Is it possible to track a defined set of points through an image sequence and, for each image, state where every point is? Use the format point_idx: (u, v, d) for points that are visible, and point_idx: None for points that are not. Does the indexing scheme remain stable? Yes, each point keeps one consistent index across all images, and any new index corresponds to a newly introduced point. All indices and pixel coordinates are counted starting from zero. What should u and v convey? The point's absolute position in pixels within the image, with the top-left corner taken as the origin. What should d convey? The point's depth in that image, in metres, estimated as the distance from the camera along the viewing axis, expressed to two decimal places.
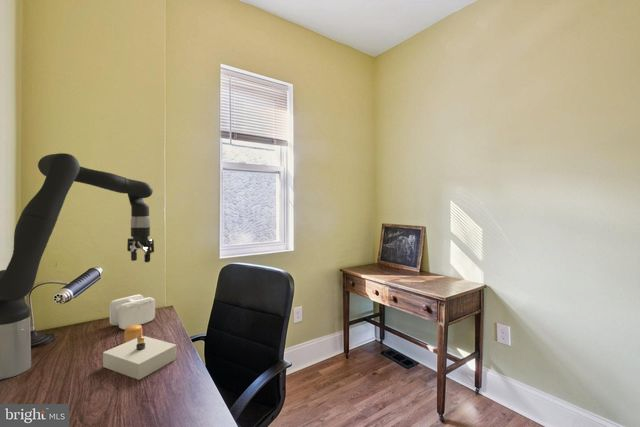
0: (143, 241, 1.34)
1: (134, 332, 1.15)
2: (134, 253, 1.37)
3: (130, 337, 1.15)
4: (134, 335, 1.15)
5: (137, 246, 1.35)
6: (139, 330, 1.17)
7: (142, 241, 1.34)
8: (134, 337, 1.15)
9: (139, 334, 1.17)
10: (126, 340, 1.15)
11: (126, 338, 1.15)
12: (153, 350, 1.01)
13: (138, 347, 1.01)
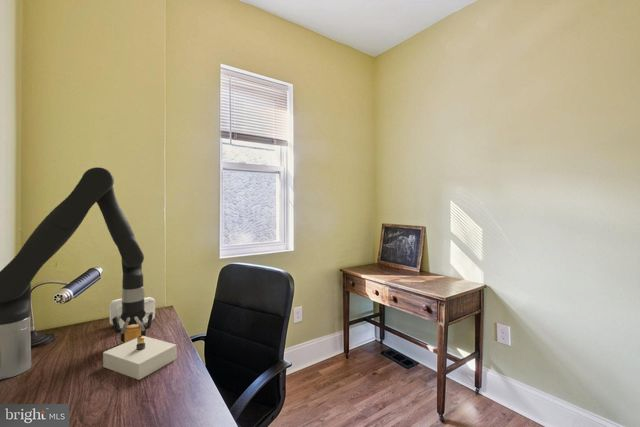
0: (142, 316, 1.18)
1: (134, 332, 1.15)
2: None
3: (130, 337, 1.15)
4: (134, 335, 1.15)
5: (131, 322, 1.16)
6: (139, 330, 1.17)
7: (140, 315, 1.17)
8: (134, 337, 1.15)
9: (139, 334, 1.17)
10: (126, 340, 1.15)
11: (126, 338, 1.15)
12: (153, 350, 1.01)
13: (138, 347, 1.01)
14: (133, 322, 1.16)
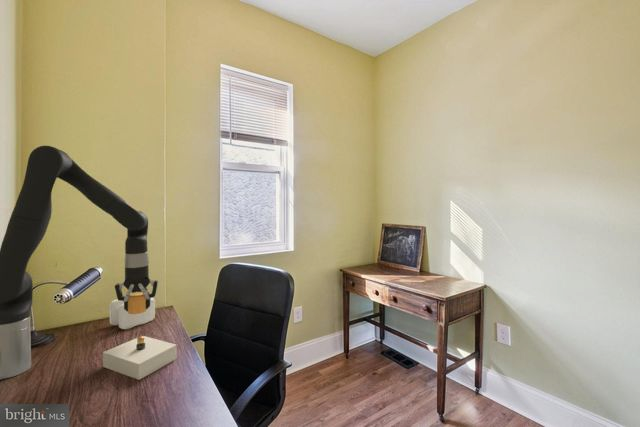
0: (147, 283, 1.10)
1: (138, 300, 1.08)
2: None
3: (134, 305, 1.08)
4: (138, 303, 1.08)
5: (134, 290, 1.09)
6: (143, 298, 1.10)
7: (144, 282, 1.10)
8: (138, 305, 1.08)
9: (143, 302, 1.10)
10: (130, 308, 1.08)
11: (130, 306, 1.08)
12: (153, 350, 1.01)
13: (138, 347, 1.01)
14: (137, 290, 1.09)
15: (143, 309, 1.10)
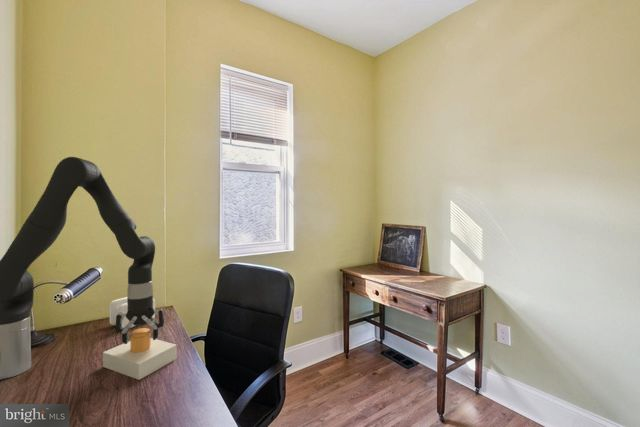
0: (150, 313, 1.02)
1: (141, 337, 1.00)
2: (127, 333, 1.01)
3: (137, 343, 0.99)
4: (141, 340, 1.00)
5: (138, 322, 1.01)
6: (147, 335, 1.02)
7: (148, 314, 1.02)
8: (141, 343, 1.00)
9: (147, 339, 1.02)
10: (132, 346, 1.00)
11: (132, 344, 1.00)
12: (153, 350, 1.01)
13: None
14: (140, 322, 1.01)
15: (146, 346, 1.01)
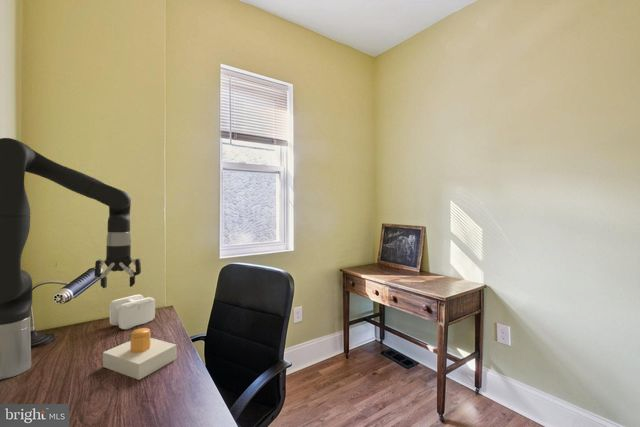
0: (128, 261, 1.11)
1: (141, 337, 1.00)
2: (105, 278, 1.09)
3: (137, 343, 0.99)
4: (141, 340, 1.00)
5: (115, 269, 1.09)
6: (147, 335, 1.02)
7: (126, 262, 1.10)
8: (141, 343, 1.00)
9: (147, 339, 1.02)
10: (132, 346, 1.00)
11: (132, 344, 1.00)
12: (153, 350, 1.01)
13: None
14: (118, 268, 1.10)
15: (146, 346, 1.01)
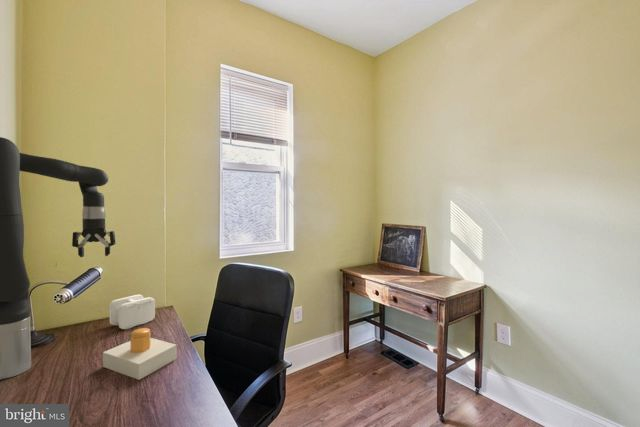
0: (102, 233, 1.23)
1: (141, 337, 1.00)
2: (82, 248, 1.22)
3: (137, 343, 0.99)
4: (141, 340, 1.00)
5: (91, 240, 1.22)
6: (147, 335, 1.02)
7: (101, 233, 1.23)
8: (141, 343, 1.00)
9: (147, 339, 1.02)
10: (132, 346, 1.00)
11: (132, 344, 1.00)
12: (153, 350, 1.01)
13: None
14: (94, 239, 1.22)
15: (146, 346, 1.01)
